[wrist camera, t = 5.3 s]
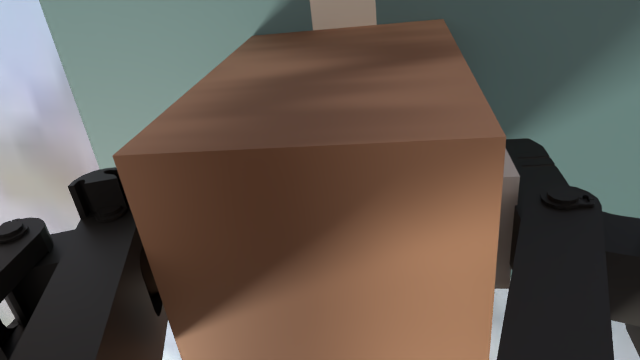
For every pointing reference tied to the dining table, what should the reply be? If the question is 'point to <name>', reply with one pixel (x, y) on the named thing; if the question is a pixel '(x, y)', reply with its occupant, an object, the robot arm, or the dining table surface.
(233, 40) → the letter card
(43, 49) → the dining table surface
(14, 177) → the dining table surface
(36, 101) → the dining table surface
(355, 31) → the wooden block
